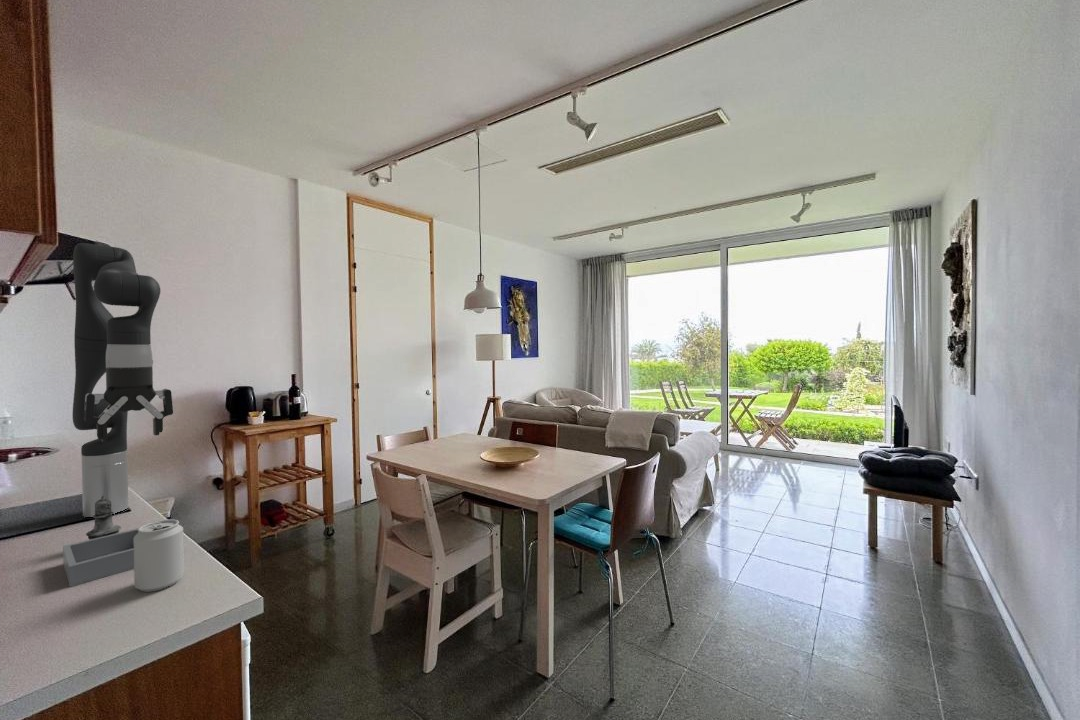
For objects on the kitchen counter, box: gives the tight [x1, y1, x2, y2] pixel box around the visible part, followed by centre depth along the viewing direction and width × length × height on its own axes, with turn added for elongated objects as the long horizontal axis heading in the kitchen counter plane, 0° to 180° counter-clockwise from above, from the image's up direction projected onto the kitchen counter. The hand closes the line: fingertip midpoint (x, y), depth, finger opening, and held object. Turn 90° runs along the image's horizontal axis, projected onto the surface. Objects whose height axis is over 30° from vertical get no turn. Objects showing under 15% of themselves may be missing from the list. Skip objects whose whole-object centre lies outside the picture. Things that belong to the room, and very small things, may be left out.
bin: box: [62, 527, 140, 587], centre depth 96 cm, size 14×14×4 cm
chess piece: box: [85, 496, 122, 540], centre depth 104 cm, size 6×6×12 cm
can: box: [133, 519, 185, 593], centre depth 88 cm, size 8×8×12 cm
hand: (131, 437), depth 97 cm, fingers open, 8 cm apart
